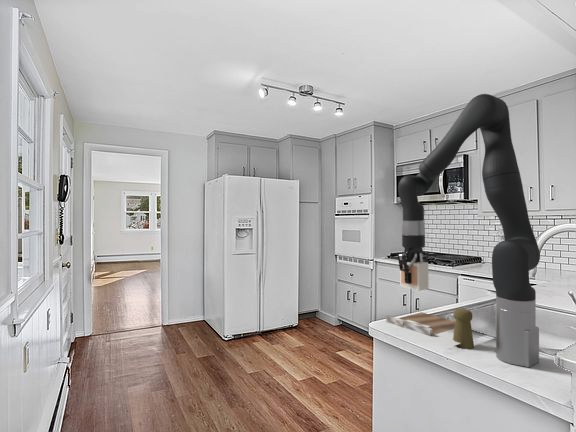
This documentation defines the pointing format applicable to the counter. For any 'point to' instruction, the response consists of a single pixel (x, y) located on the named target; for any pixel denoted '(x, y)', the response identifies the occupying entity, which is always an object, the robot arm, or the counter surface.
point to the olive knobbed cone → (463, 329)
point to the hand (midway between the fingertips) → (413, 282)
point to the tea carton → (416, 276)
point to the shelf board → (423, 323)
